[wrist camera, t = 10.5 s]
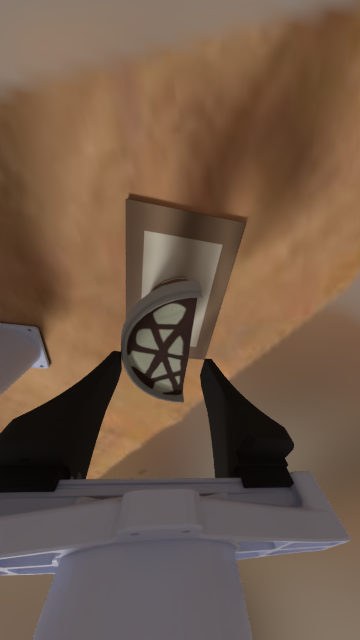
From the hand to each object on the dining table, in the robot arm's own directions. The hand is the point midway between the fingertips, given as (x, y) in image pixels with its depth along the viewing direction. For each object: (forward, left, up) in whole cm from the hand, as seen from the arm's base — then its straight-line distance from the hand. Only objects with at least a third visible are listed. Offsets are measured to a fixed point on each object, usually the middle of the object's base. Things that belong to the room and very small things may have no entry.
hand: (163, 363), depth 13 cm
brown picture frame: (+1, +2, -10) cm, 11 cm away
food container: (-1, +1, -10) cm, 10 cm away
